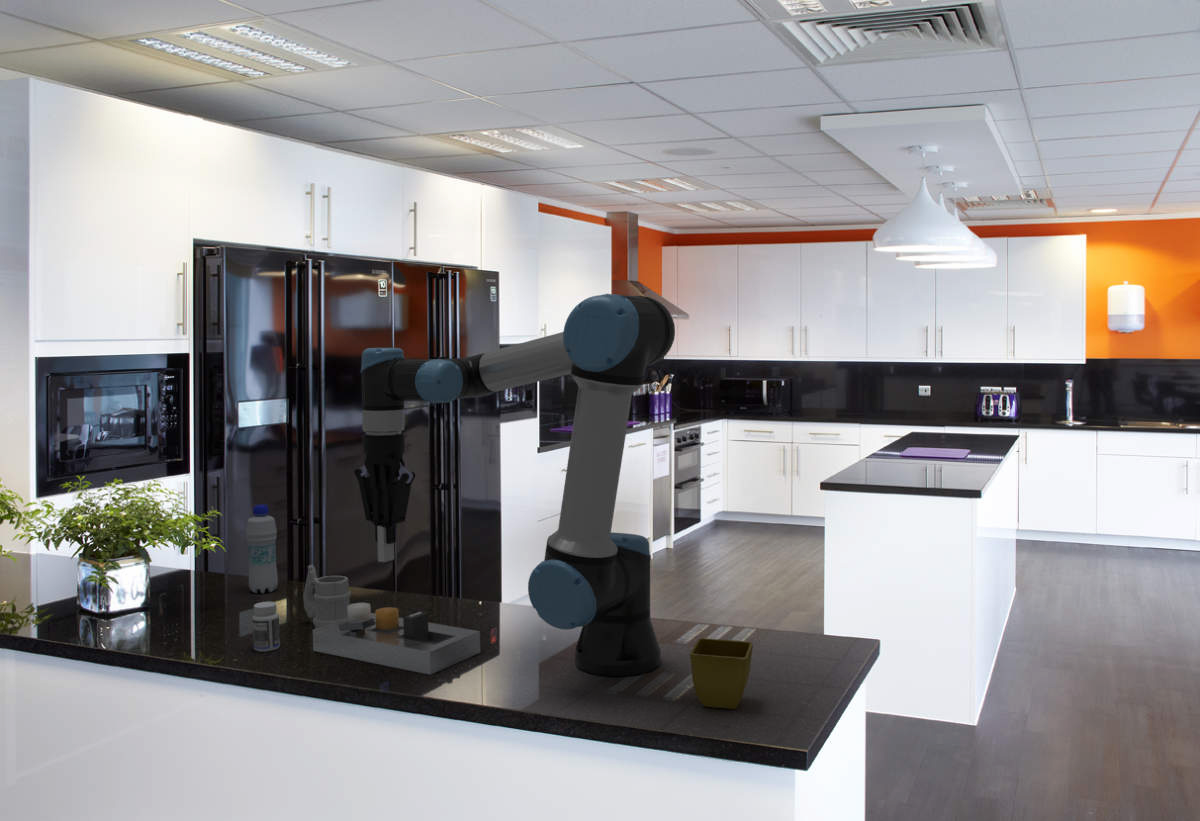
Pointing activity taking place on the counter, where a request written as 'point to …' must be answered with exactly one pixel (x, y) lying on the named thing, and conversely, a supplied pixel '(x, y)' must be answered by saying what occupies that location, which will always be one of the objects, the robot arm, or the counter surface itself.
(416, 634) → the slider knob
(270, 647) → the pill bottle
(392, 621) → the orange button
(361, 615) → the cream button
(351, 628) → the block
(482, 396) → the robot arm
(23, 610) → the counter surface
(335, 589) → the mug
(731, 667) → the flower pot
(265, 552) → the bottle
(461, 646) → the panel
